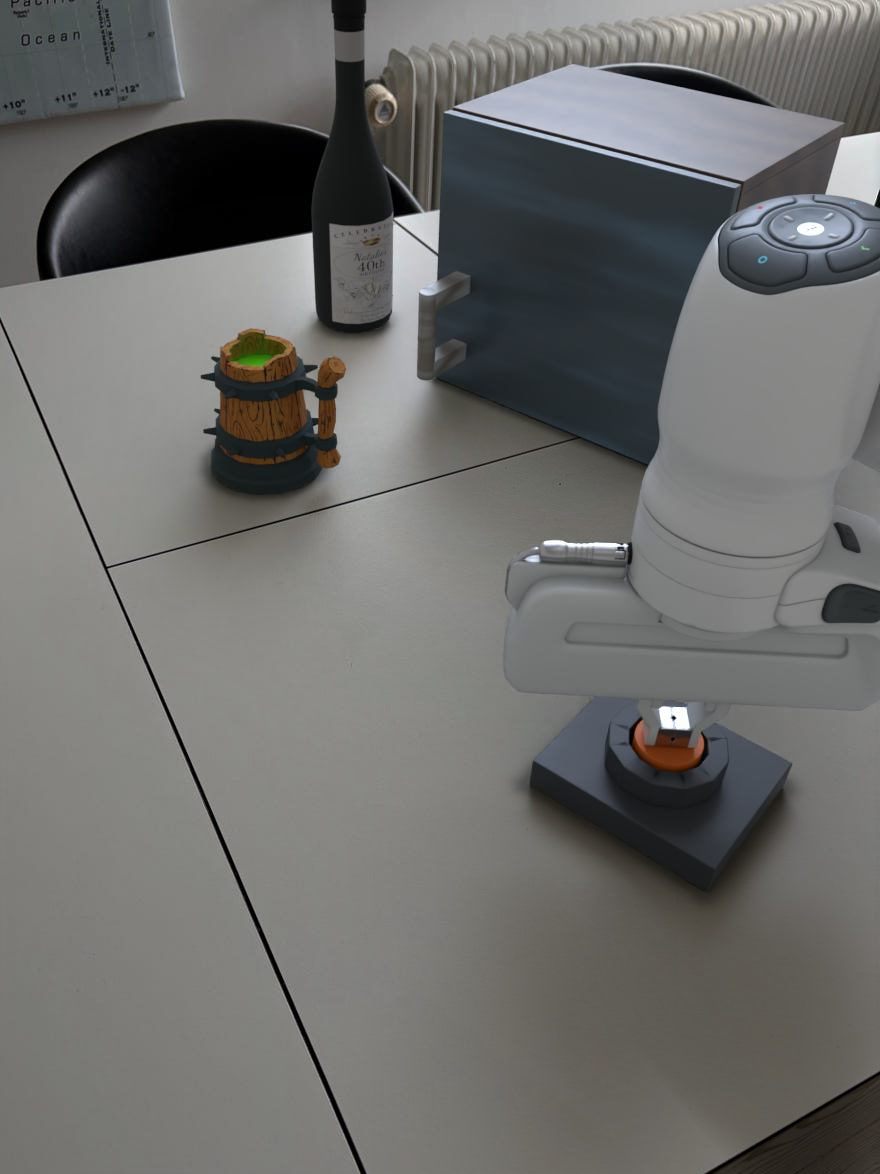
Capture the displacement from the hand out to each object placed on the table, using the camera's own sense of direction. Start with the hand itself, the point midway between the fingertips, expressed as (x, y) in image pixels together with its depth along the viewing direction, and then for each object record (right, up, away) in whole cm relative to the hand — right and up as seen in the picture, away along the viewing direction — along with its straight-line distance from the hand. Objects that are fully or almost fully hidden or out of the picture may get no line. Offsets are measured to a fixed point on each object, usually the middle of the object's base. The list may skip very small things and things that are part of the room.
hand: (668, 738), depth 61 cm
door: (-4, +24, +33) cm, 41 cm away
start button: (0, -1, +1) cm, 2 cm away
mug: (-26, +20, +28) cm, 43 cm away
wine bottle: (-20, +39, +49) cm, 66 cm away
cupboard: (+4, +31, +40) cm, 50 cm away
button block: (0, -3, +3) cm, 4 cm away
